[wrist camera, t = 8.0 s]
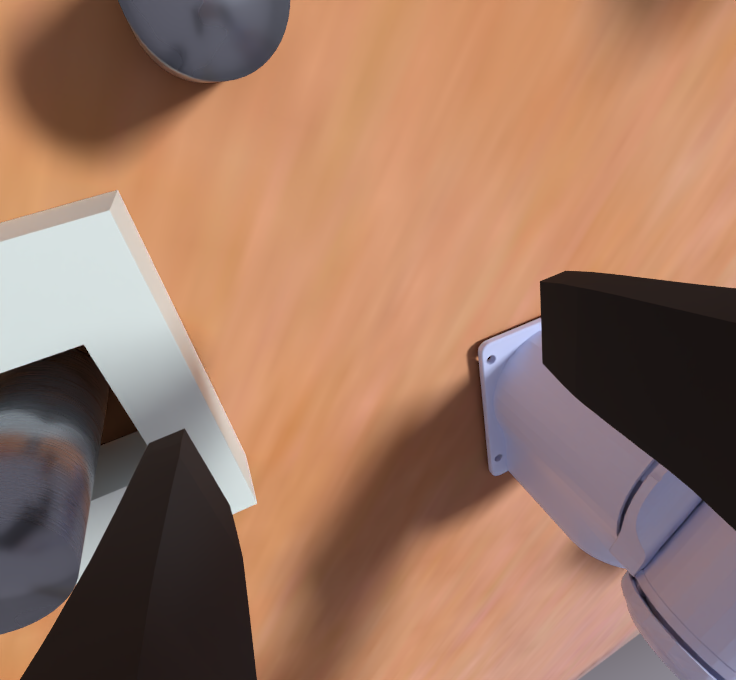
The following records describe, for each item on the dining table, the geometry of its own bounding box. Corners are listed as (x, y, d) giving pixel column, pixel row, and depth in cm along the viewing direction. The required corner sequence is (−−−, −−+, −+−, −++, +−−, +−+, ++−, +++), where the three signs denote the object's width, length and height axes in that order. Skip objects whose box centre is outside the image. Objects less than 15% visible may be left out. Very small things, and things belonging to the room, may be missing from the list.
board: (245, 454, 21) (257, 503, 19) (7, 555, 19) (-16, 625, 17) (117, 189, 15) (109, 210, 12) (-262, 296, 13) (-362, 346, 10)
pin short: (271, 67, 15) (308, 61, 11) (158, 96, 14) (157, 98, 10) (231, -80, 13) (260, -145, 9) (97, -56, 12) (71, -118, 9)
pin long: (125, 411, 18) (105, 593, 12) (22, 444, 17) (-62, 662, 11) (83, 331, 16) (31, 494, 10) (-35, 364, 16) (-178, 567, 9)
